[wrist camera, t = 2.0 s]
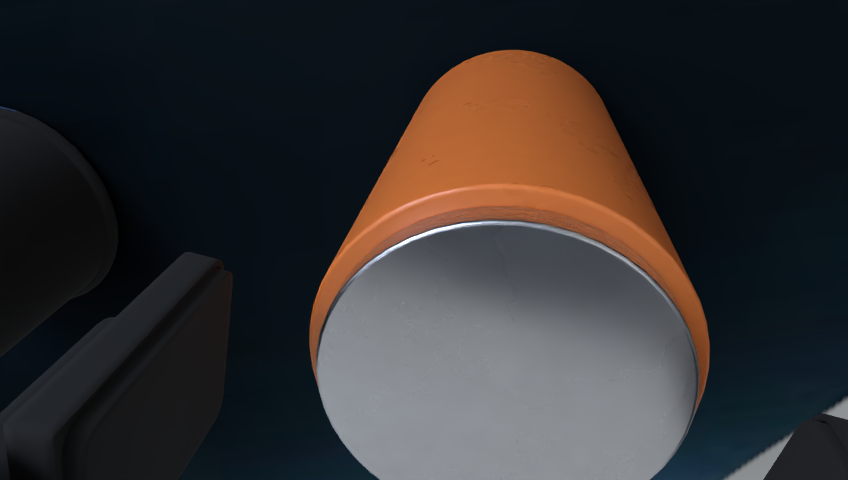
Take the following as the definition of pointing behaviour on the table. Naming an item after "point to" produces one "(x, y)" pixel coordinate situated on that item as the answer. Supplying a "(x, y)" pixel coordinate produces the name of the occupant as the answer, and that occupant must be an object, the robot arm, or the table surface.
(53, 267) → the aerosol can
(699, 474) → the table surface
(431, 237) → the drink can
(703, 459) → the table surface
